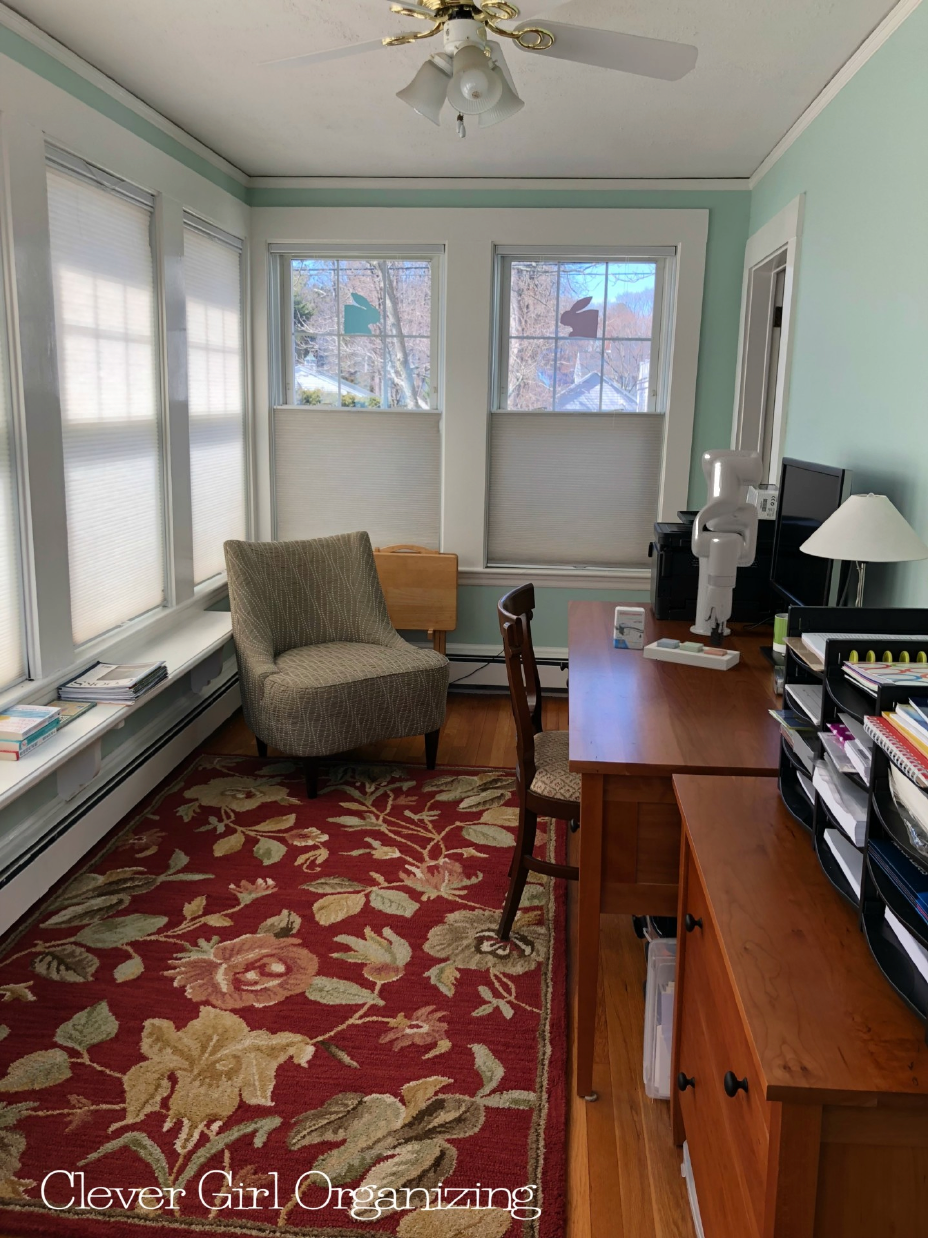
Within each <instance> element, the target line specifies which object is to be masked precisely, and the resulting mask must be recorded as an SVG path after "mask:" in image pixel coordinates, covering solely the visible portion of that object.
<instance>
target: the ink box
mask: <svg viewBox="0 0 928 1238" xmlns="http://www.w3.org/2000/svg"><path fill="white" fill-rule="evenodd" d="M614 613H615V614H614V625H613V627H614V628H613V643H612V645H613V647H614V648H615V649H616V648H619V649H636V650H643V649H644V647H643V645H644V632H645V621H646V620H645V619H646V610H645V609H644V607H633V606H616V607H615V610H614Z"/></svg>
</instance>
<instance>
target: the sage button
mask: <svg viewBox="0 0 928 1238" xmlns="http://www.w3.org/2000/svg"><path fill="white" fill-rule="evenodd" d="M703 647H704V643H699V642H698V643H697V642H692V641H691V642H690V641H684V642H683V644H681V645H680V650H682V651H689V652H695V653H699V652H701V651H702V650H703Z"/></svg>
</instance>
